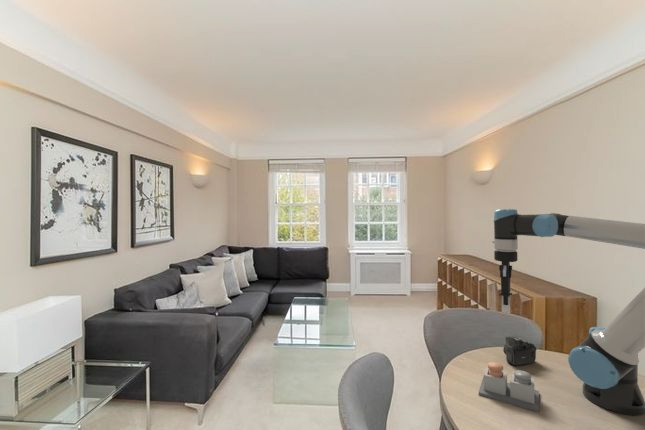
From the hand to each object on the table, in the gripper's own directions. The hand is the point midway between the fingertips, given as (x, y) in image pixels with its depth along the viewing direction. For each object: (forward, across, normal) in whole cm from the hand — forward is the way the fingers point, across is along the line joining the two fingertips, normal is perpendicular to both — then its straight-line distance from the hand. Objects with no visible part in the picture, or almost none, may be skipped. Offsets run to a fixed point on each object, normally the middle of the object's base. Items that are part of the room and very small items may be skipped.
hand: (506, 312), depth 117 cm
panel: (+24, +12, +2) cm, 27 cm away
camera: (+25, -16, +3) cm, 30 cm away
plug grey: (+23, +12, +6) cm, 26 cm away
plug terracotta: (+22, +12, -2) cm, 25 cm away
